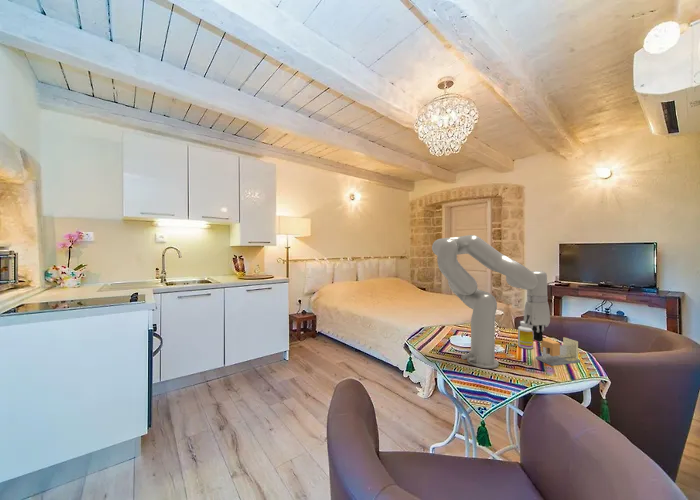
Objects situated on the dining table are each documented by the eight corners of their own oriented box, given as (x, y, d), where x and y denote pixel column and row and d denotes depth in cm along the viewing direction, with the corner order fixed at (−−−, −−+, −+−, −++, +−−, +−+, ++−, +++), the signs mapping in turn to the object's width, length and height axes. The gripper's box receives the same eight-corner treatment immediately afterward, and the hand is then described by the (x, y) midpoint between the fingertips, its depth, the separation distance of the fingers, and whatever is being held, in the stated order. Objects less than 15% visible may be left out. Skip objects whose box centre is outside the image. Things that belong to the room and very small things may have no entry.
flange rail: (551, 365, 122) (552, 345, 122) (535, 358, 130) (535, 339, 130) (580, 362, 126) (580, 342, 126) (562, 355, 134) (562, 336, 134)
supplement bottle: (535, 349, 142) (535, 324, 142) (520, 348, 143) (521, 323, 143) (529, 345, 148) (530, 320, 148) (516, 344, 150) (516, 320, 150)
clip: (552, 356, 124) (552, 343, 124) (541, 351, 129) (541, 339, 129) (559, 355, 125) (559, 343, 125) (548, 351, 130) (548, 339, 130)
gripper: (542, 296, 131) (543, 336, 131) (516, 298, 127) (517, 339, 127) (558, 299, 123) (559, 341, 123) (530, 301, 120) (531, 345, 120)
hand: (538, 340), depth 125 cm, fingers closed
